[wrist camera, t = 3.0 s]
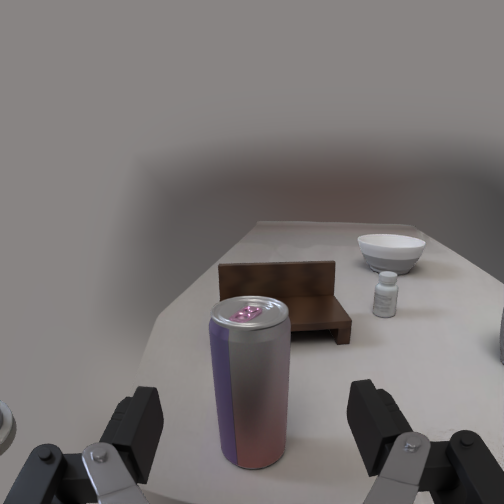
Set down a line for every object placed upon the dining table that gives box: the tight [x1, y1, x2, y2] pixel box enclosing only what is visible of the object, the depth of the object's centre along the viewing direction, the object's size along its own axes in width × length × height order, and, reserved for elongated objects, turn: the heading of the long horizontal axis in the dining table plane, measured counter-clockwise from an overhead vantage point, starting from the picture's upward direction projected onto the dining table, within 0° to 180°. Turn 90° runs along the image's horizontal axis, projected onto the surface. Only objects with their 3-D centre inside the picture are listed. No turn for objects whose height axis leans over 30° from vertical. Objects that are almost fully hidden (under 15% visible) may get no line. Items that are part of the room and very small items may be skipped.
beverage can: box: [209, 296, 291, 469], centre depth 25 cm, size 6×6×15 cm
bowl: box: [358, 234, 426, 275], centre depth 82 cm, size 20×20×8 cm
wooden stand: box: [218, 261, 352, 345], centre depth 51 cm, size 20×12×10 cm, turn 91°
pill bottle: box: [373, 271, 398, 318], centre depth 55 cm, size 4×4×8 cm
